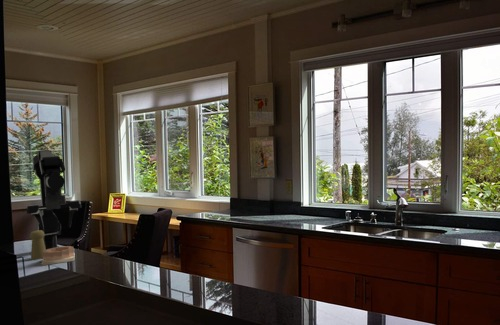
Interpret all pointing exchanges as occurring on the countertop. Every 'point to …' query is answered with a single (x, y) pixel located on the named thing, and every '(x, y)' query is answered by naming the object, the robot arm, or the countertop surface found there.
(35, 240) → the cork
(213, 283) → the countertop surface
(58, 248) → the socket board
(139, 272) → the countertop surface
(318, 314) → the countertop surface
